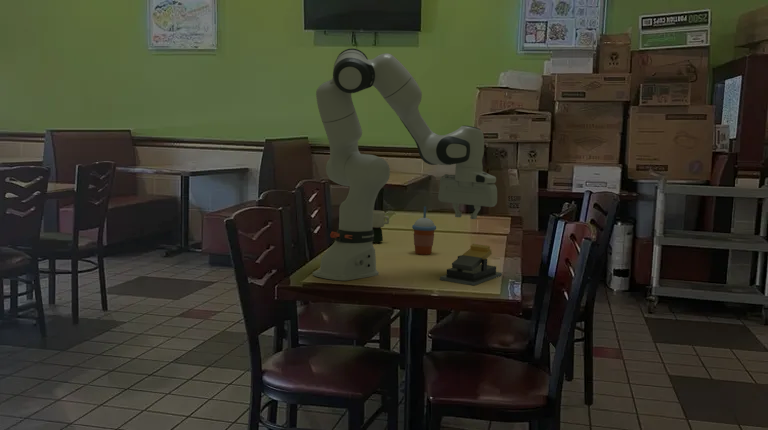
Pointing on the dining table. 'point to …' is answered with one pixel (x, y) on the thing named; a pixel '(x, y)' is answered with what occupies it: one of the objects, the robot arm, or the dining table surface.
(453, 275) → the grey box with tabs
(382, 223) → the grey trophy cup
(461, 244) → the dining table surface
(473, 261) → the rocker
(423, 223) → the cup with straw
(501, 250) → the dining table surface
